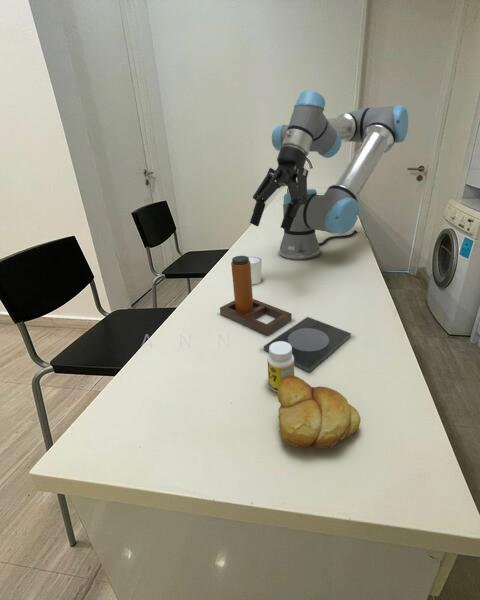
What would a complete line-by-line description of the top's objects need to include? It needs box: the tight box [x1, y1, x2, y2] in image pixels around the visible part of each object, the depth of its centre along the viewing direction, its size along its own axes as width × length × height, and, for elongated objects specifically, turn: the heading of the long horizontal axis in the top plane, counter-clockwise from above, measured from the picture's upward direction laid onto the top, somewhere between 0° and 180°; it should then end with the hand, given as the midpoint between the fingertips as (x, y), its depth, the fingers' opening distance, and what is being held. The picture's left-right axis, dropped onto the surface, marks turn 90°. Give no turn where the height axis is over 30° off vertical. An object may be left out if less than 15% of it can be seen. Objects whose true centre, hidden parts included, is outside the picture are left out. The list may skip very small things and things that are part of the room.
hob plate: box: [263, 316, 352, 373], centre depth 73 cm, size 16×12×1 cm
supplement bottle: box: [267, 341, 295, 393], centre depth 59 cm, size 5×5×8 cm
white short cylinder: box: [247, 256, 263, 286], centre depth 103 cm, size 7×7×7 cm
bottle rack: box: [219, 298, 293, 337], centre depth 83 cm, size 9×16×2 cm, turn 49°
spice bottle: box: [230, 255, 254, 314], centre depth 83 cm, size 5×5×15 cm
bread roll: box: [276, 375, 362, 449], centre depth 50 cm, size 13×10×8 cm
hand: (268, 226), depth 90 cm, fingers open, 13 cm apart
